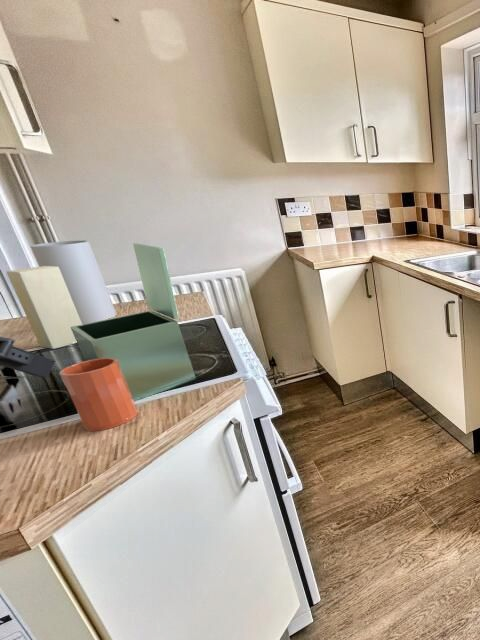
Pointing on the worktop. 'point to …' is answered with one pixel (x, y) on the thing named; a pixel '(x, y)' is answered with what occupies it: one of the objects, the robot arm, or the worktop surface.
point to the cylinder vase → (78, 277)
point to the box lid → (156, 279)
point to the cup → (99, 393)
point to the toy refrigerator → (46, 304)
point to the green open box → (139, 350)
